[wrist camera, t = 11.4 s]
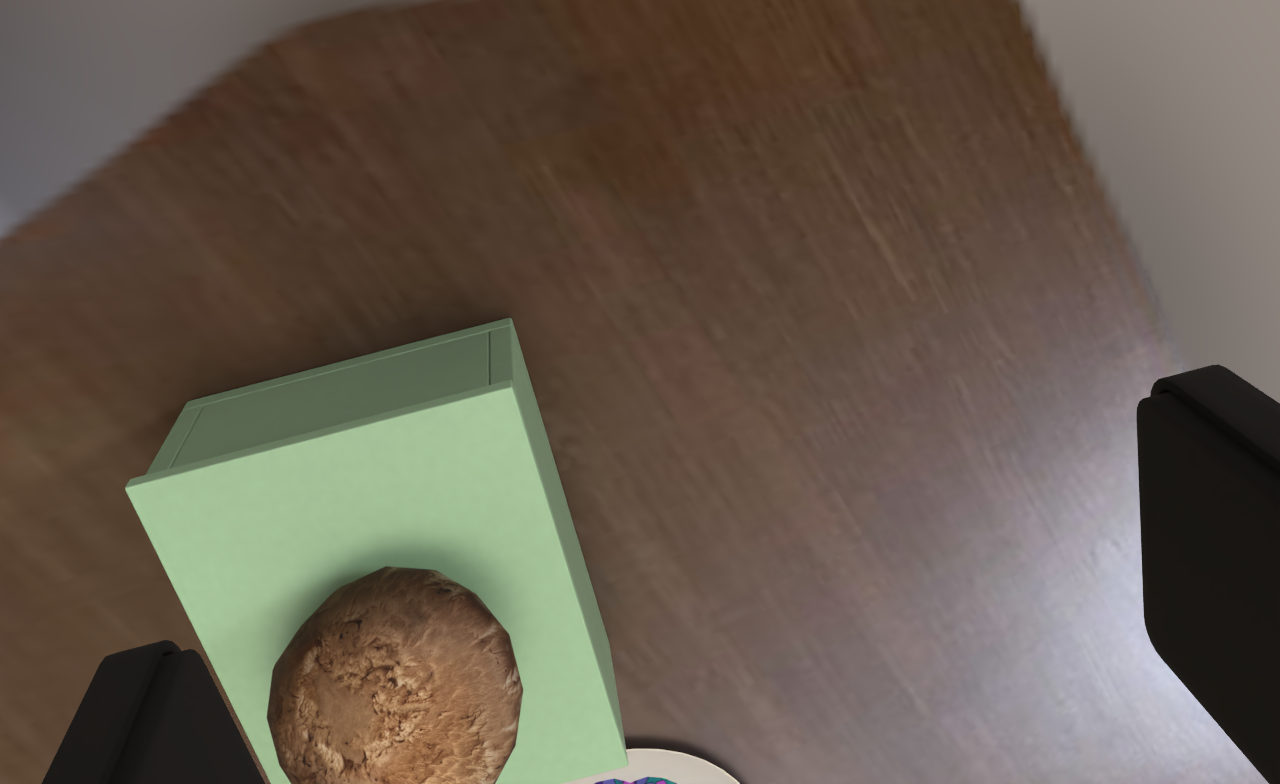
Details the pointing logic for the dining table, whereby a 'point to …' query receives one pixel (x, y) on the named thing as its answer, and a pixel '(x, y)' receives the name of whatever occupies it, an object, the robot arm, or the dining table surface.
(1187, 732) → the dining table surface
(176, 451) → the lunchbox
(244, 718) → the green flat panel
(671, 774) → the pudding
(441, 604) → the mushroom
